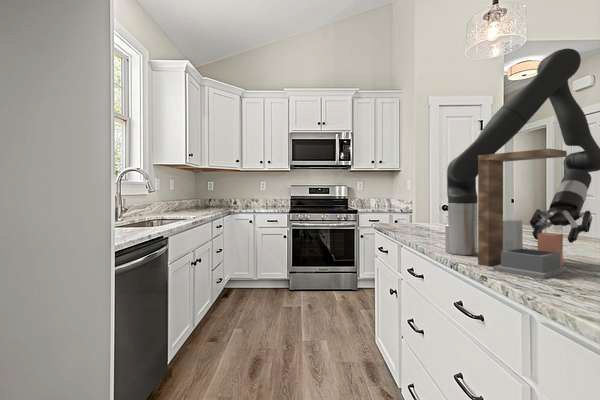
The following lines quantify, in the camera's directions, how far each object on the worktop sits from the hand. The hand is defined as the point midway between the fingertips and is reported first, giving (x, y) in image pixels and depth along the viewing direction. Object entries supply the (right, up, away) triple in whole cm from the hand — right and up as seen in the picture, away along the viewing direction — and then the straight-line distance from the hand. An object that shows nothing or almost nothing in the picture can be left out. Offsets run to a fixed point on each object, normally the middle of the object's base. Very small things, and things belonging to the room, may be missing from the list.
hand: (552, 239), depth 102 cm
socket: (-11, -8, -7) cm, 15 cm away
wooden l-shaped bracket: (-12, -8, -4) cm, 15 cm away
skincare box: (-4, -7, +12) cm, 14 cm away
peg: (-1, -7, -1) cm, 8 cm away
